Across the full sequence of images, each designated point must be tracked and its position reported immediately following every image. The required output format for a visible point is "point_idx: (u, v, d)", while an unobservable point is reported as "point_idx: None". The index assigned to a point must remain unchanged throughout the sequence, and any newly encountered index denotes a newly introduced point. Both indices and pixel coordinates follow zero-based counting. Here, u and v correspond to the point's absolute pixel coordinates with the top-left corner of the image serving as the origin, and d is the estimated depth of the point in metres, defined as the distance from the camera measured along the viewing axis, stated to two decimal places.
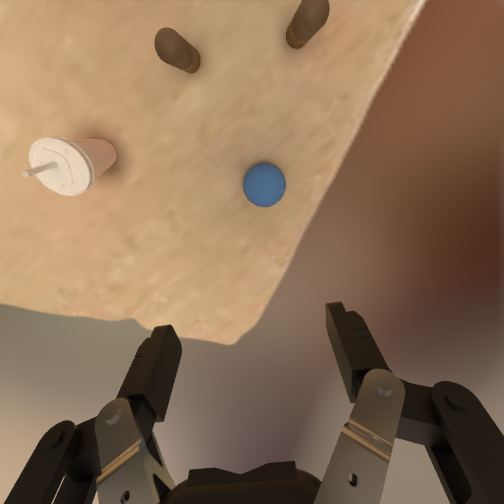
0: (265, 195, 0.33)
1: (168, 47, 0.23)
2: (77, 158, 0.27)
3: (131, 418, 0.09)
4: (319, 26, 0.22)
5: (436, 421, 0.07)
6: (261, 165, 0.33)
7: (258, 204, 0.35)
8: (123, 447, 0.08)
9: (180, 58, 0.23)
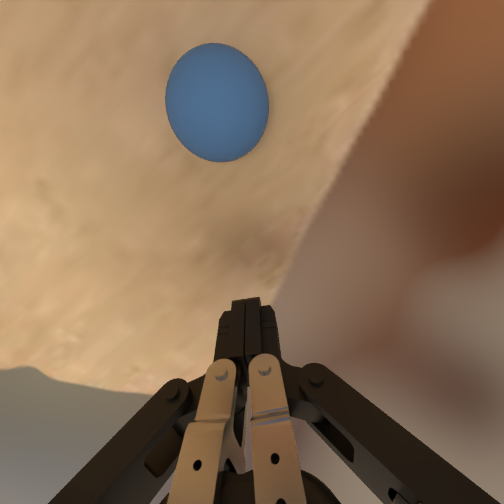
0: (213, 121, 0.13)
1: None
2: None
3: (231, 388, 0.09)
4: None
5: (300, 396, 0.09)
6: (203, 44, 0.13)
7: (202, 152, 0.14)
8: (216, 411, 0.08)
9: None
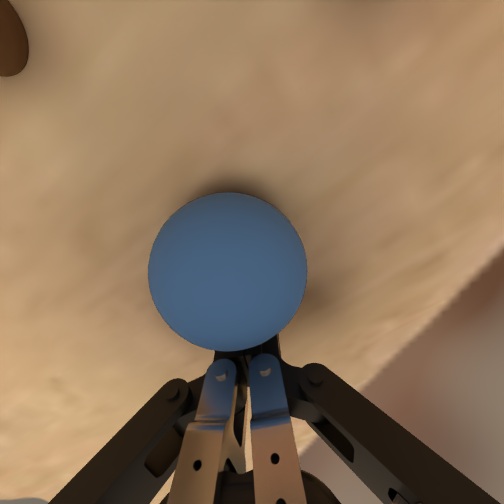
0: (212, 194, 0.09)
1: None
2: None
3: (231, 388, 0.09)
4: None
5: (300, 396, 0.09)
6: None
7: (171, 227, 0.08)
8: (216, 411, 0.08)
9: None
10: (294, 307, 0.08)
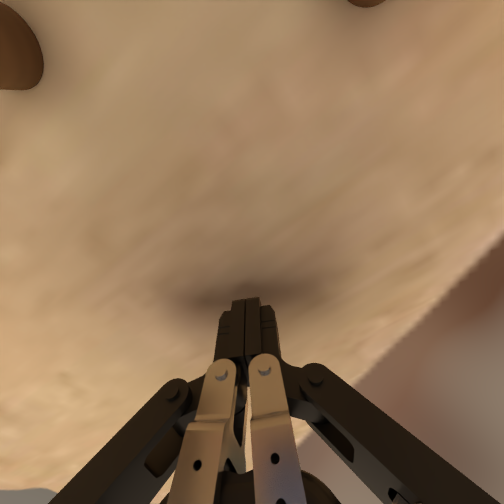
0: None
1: None
2: None
3: (232, 388, 0.09)
4: None
5: (300, 396, 0.09)
6: None
7: None
8: (216, 411, 0.08)
9: None
10: None
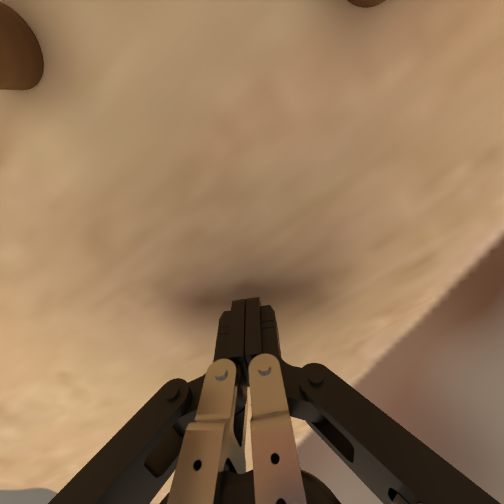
0: None
1: None
2: None
3: (232, 388, 0.09)
4: None
5: (300, 396, 0.09)
6: None
7: None
8: (216, 411, 0.08)
9: None
10: None
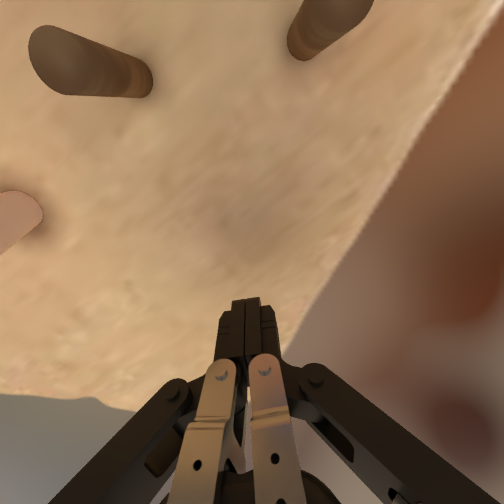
0: None
1: (57, 64, 0.12)
2: None
3: (231, 388, 0.09)
4: (354, 22, 0.11)
5: (300, 396, 0.09)
6: None
7: None
8: (216, 411, 0.08)
9: (84, 83, 0.12)
10: None
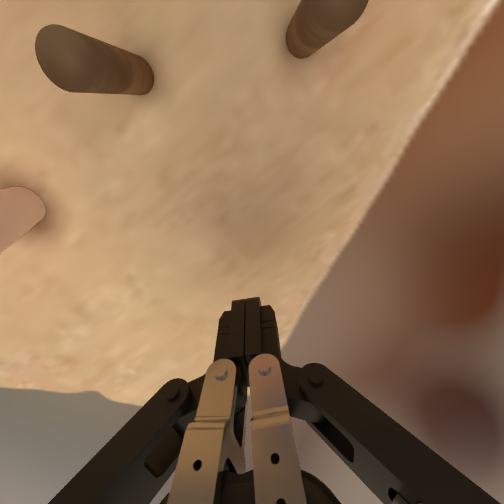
0: None
1: (63, 62, 0.12)
2: None
3: (231, 388, 0.09)
4: (349, 21, 0.11)
5: (300, 396, 0.09)
6: None
7: None
8: (216, 411, 0.08)
9: (89, 81, 0.12)
10: None
